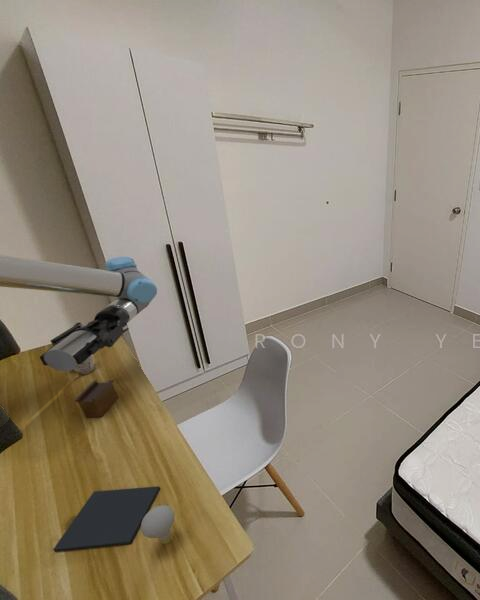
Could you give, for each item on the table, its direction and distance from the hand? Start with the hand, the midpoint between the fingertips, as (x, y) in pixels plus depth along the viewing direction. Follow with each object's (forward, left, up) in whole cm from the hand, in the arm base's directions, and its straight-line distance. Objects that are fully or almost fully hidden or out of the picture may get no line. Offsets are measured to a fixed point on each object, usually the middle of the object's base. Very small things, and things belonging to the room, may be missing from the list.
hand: (60, 360), depth 85 cm
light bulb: (+36, -35, -22) cm, 55 cm away
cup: (-16, +23, -22) cm, 36 cm away
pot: (0, +5, 0) cm, 5 cm away
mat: (+22, -29, -22) cm, 43 cm away
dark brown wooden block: (0, +5, -22) cm, 22 cm away
